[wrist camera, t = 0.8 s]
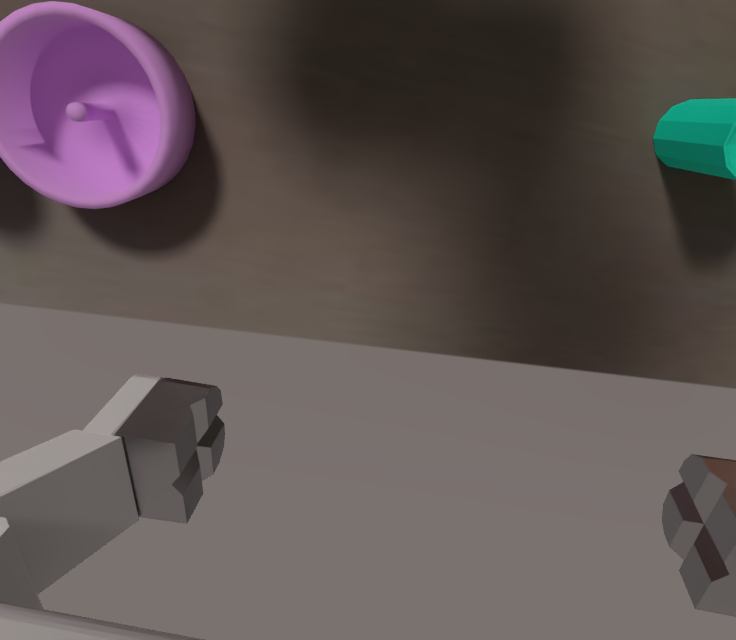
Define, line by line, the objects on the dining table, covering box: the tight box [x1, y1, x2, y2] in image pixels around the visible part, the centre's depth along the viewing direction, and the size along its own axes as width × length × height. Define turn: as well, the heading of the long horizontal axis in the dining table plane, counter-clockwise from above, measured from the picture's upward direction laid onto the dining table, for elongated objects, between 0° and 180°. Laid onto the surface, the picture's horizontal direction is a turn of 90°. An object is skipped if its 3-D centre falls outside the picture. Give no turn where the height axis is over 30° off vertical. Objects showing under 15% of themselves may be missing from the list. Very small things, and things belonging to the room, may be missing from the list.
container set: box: [0, 1, 196, 209], centre depth 42 cm, size 25×15×13 cm, turn 86°
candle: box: [653, 99, 736, 180], centre depth 43 cm, size 6×6×12 cm
